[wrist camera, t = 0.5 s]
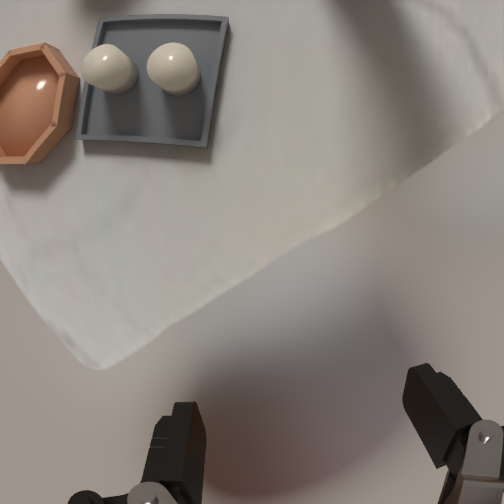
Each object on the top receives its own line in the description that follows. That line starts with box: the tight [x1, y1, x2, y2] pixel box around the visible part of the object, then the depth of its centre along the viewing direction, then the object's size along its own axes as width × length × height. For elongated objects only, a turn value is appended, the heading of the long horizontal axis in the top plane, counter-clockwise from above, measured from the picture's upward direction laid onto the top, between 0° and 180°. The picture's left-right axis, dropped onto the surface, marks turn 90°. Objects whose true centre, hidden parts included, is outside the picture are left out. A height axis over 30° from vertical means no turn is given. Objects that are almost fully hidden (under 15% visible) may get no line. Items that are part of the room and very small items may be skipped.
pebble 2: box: [147, 43, 201, 96], centre depth 27 cm, size 4×4×6 cm
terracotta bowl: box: [0, 43, 80, 164], centre depth 28 cm, size 15×15×4 cm
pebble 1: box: [82, 44, 139, 94], centre depth 27 cm, size 4×4×6 cm
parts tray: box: [76, 14, 229, 148], centre depth 29 cm, size 15×15×2 cm
